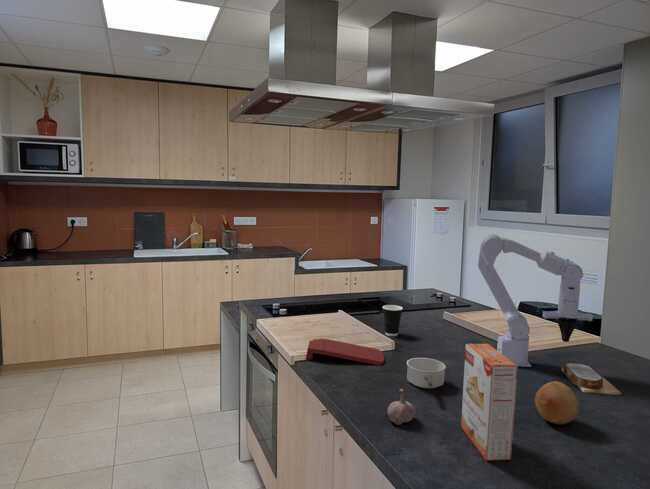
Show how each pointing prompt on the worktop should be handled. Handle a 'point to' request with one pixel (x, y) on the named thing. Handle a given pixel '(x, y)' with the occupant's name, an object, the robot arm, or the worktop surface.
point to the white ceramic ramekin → (425, 372)
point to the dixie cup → (392, 319)
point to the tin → (583, 376)
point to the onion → (557, 403)
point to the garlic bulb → (401, 410)
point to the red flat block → (345, 351)
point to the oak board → (605, 389)
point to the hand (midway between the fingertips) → (565, 340)
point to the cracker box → (489, 401)
